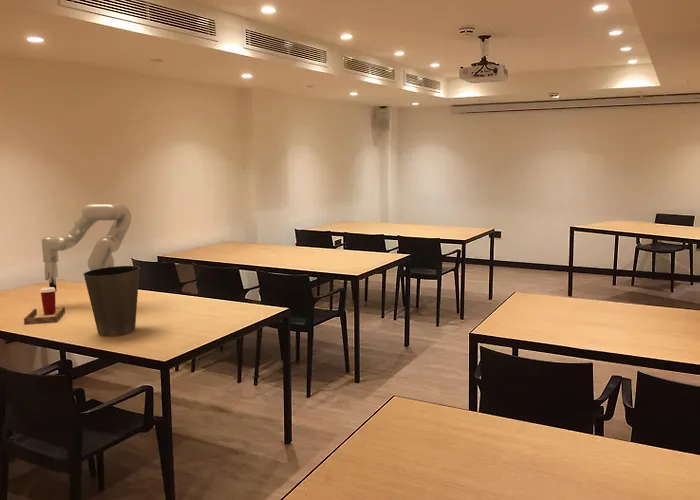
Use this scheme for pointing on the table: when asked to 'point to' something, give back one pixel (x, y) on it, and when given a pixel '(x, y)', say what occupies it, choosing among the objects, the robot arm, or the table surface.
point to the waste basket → (113, 298)
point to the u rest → (31, 320)
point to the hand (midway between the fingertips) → (53, 291)
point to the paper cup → (48, 300)
